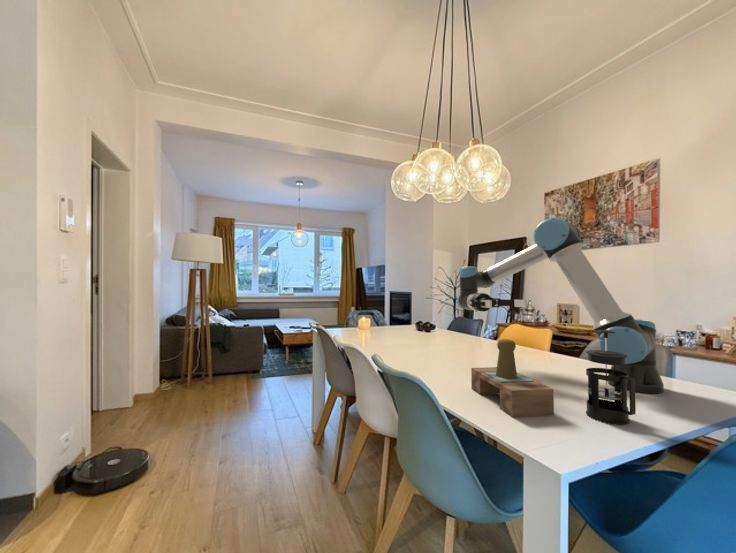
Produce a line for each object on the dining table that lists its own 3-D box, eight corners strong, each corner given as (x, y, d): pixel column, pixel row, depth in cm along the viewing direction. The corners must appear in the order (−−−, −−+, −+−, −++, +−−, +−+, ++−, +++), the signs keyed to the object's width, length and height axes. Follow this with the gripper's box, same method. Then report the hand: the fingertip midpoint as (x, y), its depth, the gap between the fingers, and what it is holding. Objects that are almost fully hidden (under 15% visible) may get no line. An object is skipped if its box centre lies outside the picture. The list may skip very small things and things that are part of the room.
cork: (520, 379, 96) (520, 341, 96) (500, 378, 96) (500, 341, 96) (512, 373, 102) (511, 338, 102) (492, 373, 102) (492, 338, 102)
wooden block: (471, 388, 110) (471, 367, 110) (504, 387, 111) (504, 366, 111) (512, 417, 86) (511, 389, 86) (553, 415, 87) (553, 387, 88)
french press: (575, 412, 90) (574, 328, 90) (599, 408, 93) (597, 327, 94) (620, 430, 79) (619, 334, 79) (646, 424, 82) (644, 332, 82)
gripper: (507, 310, 139) (540, 313, 118) (451, 311, 135) (476, 315, 114) (506, 292, 139) (540, 293, 118) (451, 293, 135) (475, 293, 114)
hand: (508, 304), depth 116 cm, fingers open, 13 cm apart
